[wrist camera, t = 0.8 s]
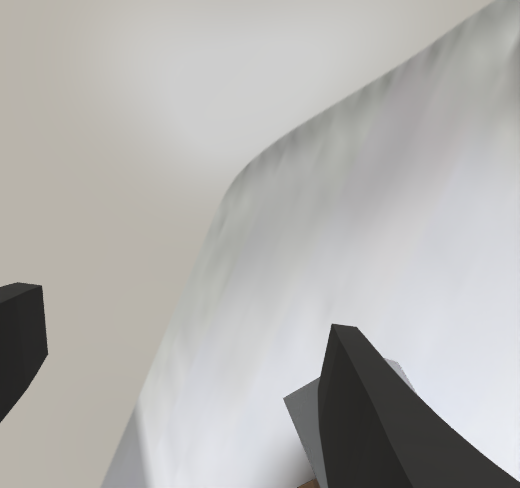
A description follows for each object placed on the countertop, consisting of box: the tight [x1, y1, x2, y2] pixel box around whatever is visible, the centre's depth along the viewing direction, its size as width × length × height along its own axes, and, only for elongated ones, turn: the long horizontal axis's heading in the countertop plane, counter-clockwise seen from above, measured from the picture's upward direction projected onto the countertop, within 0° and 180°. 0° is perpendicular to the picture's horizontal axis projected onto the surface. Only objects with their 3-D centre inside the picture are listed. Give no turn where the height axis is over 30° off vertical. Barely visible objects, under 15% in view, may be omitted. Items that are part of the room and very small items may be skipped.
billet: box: [283, 358, 417, 488], centre depth 18 cm, size 4×4×6 cm
